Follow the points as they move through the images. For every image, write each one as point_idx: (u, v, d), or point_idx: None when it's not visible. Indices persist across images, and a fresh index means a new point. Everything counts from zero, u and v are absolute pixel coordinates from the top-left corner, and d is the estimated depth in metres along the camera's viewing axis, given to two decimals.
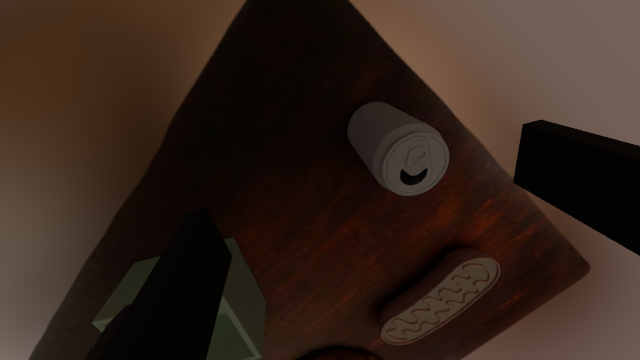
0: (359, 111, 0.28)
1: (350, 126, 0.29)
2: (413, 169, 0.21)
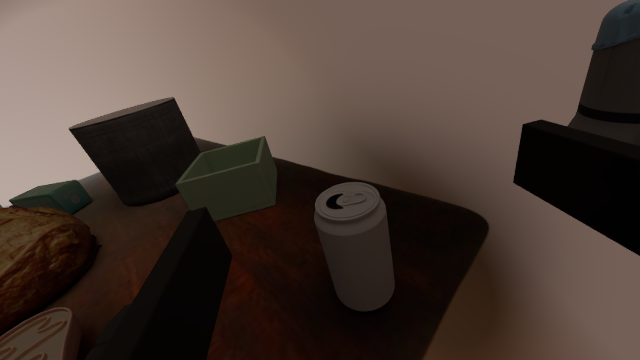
0: None
1: None
2: (342, 200, 0.22)
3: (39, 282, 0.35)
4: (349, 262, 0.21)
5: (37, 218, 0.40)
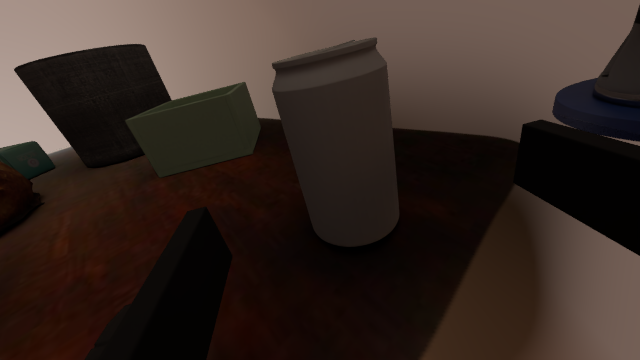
0: None
1: None
2: None
3: None
4: (326, 148, 0.13)
5: None
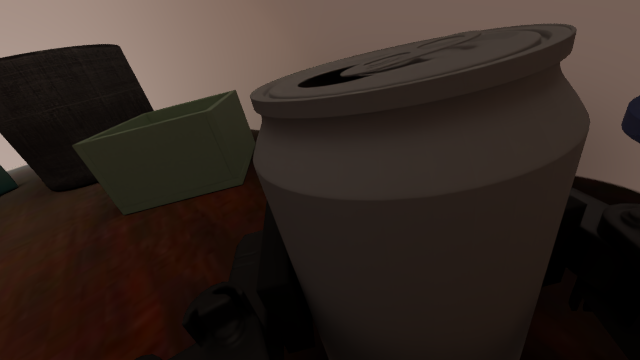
0: None
1: None
2: (366, 69, 0.05)
3: None
4: (402, 336, 0.05)
5: None
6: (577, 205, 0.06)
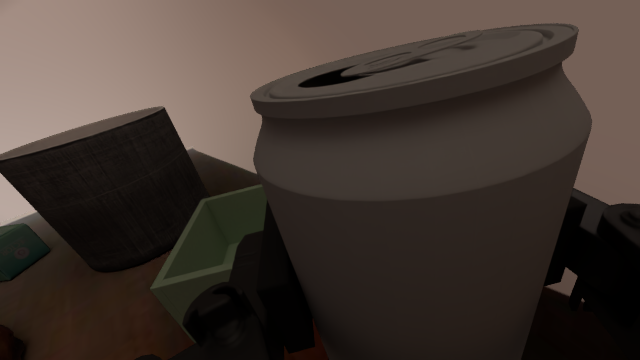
0: None
1: None
2: (367, 68, 0.05)
3: None
4: (403, 337, 0.05)
5: None
6: (577, 205, 0.06)
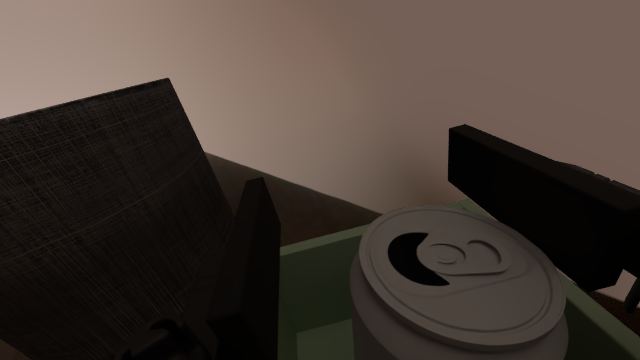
0: None
1: None
2: (434, 255, 0.08)
3: None
4: None
5: None
6: None
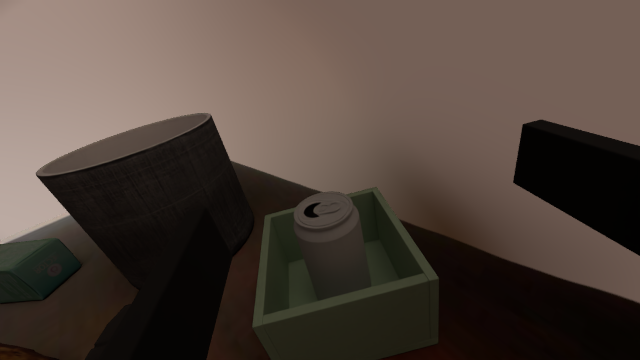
0: None
1: None
2: (319, 209, 0.24)
3: None
4: (325, 267, 0.23)
5: None
6: None
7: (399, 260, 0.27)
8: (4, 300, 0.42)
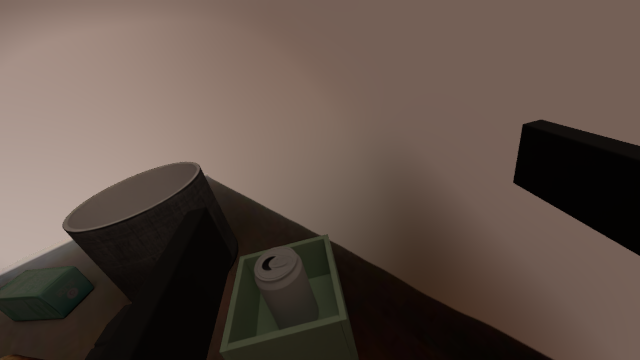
0: None
1: None
2: (273, 262, 0.33)
3: None
4: (276, 305, 0.32)
5: None
6: None
7: None
8: (32, 318, 0.51)
